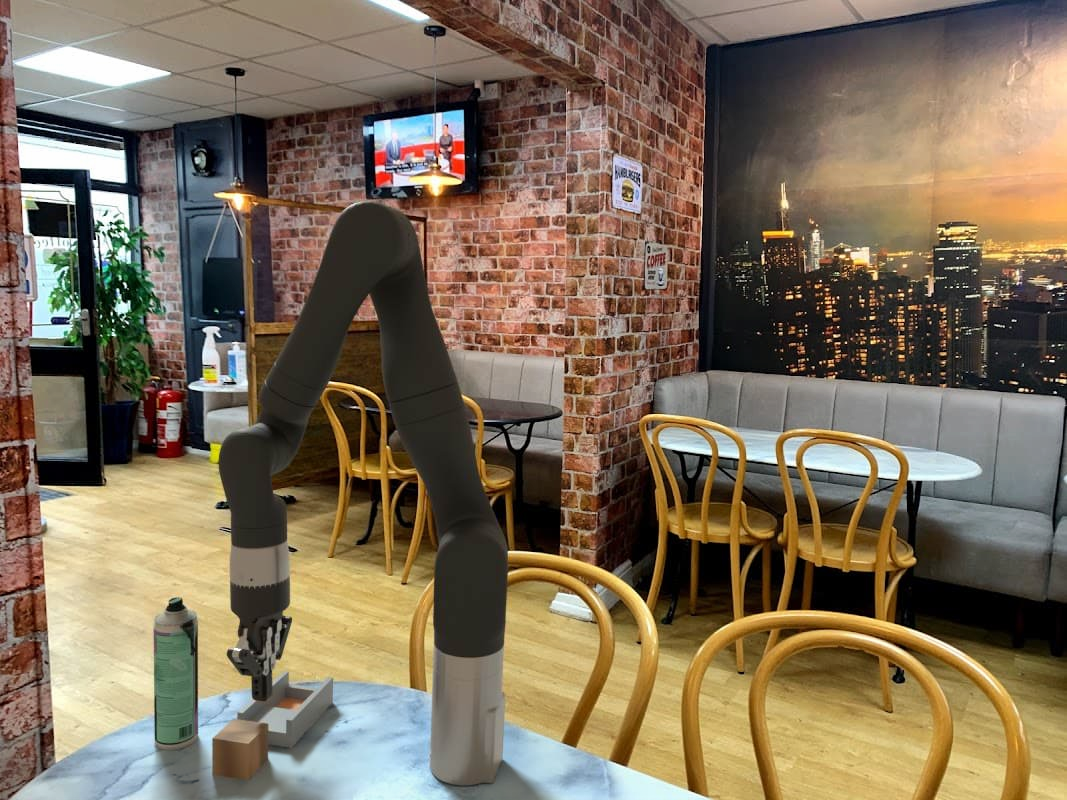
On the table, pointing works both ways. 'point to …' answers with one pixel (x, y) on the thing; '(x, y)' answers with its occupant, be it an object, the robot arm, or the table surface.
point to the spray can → (175, 676)
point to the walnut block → (240, 749)
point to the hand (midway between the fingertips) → (262, 698)
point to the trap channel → (289, 709)
